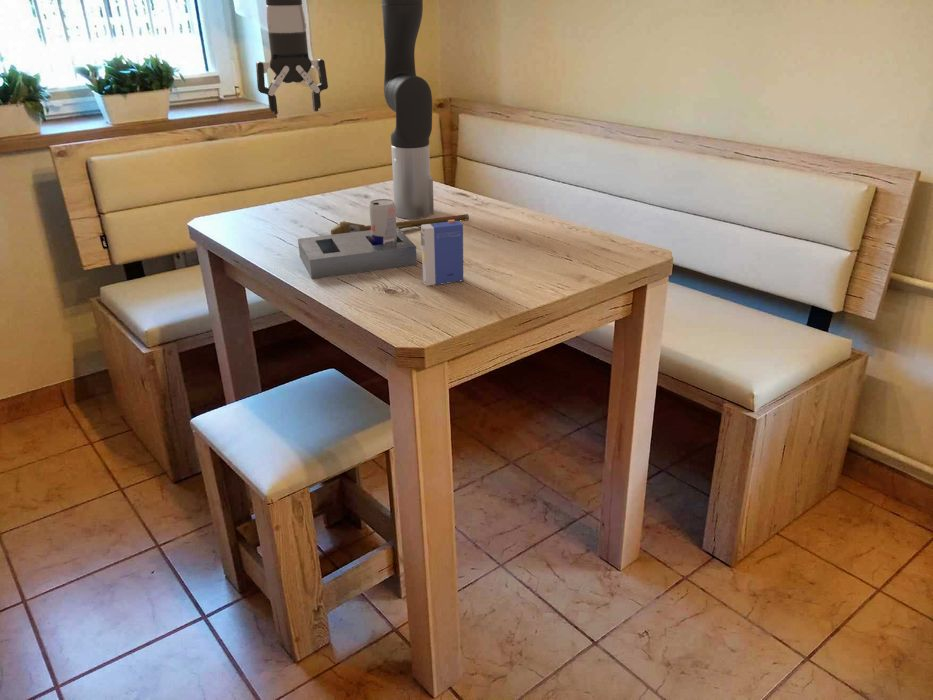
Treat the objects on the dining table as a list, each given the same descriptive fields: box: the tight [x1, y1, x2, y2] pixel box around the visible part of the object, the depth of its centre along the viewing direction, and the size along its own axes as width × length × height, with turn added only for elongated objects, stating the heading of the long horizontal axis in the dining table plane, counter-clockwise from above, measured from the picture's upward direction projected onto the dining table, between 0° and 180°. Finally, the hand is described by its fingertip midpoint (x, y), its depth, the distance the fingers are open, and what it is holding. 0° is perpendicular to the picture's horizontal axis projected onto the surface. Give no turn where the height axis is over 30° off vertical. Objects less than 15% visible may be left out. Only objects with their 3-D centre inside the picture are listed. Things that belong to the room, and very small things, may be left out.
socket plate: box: [297, 227, 418, 280], centre depth 158 cm, size 22×14×4 cm, turn 111°
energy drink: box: [369, 198, 397, 246], centre depth 158 cm, size 5×5×12 cm
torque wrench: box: [330, 213, 470, 235], centre depth 177 cm, size 5×35×5 cm
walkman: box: [420, 220, 464, 287], centre depth 145 cm, size 8×3×12 cm, turn 110°
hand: (295, 112), depth 159 cm, fingers open, 8 cm apart
